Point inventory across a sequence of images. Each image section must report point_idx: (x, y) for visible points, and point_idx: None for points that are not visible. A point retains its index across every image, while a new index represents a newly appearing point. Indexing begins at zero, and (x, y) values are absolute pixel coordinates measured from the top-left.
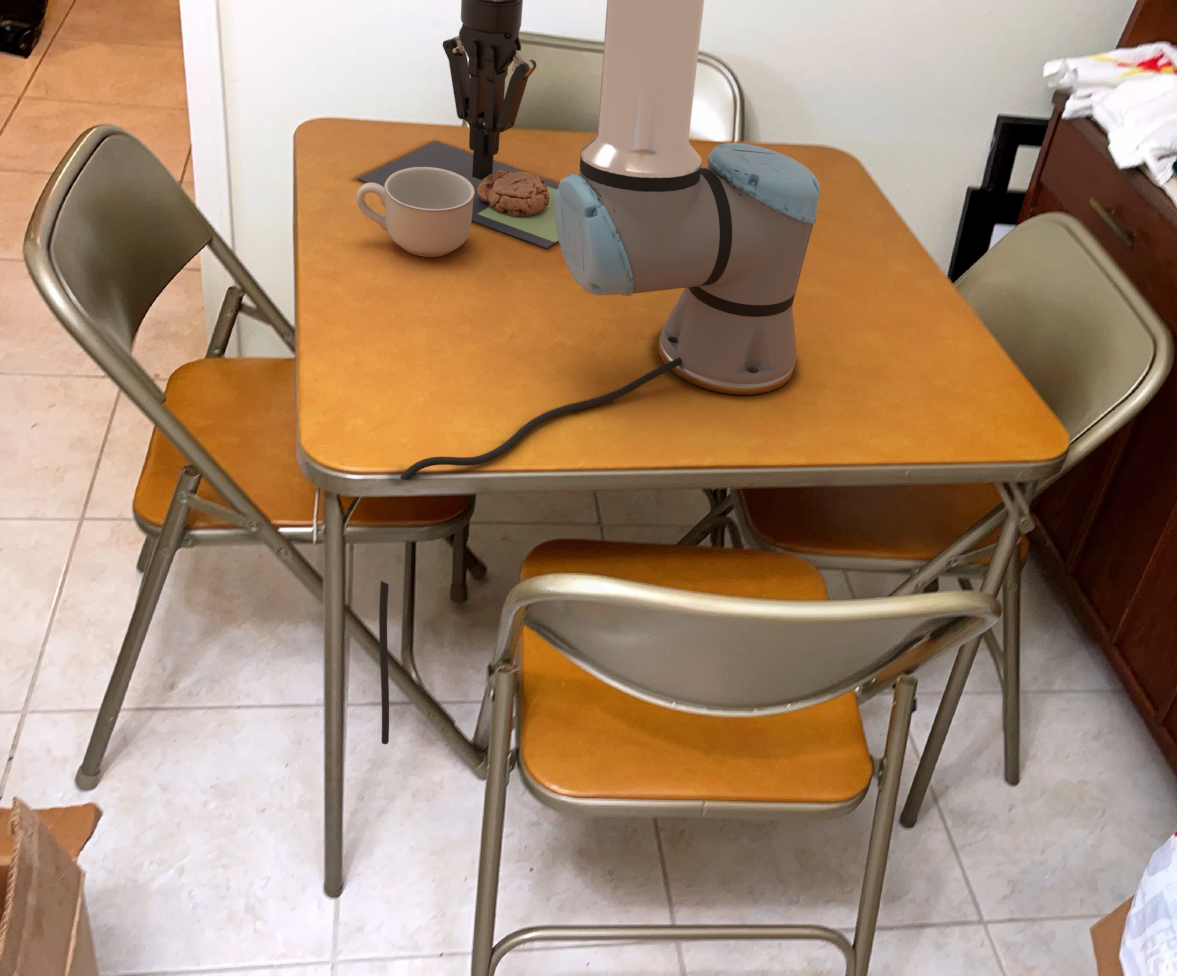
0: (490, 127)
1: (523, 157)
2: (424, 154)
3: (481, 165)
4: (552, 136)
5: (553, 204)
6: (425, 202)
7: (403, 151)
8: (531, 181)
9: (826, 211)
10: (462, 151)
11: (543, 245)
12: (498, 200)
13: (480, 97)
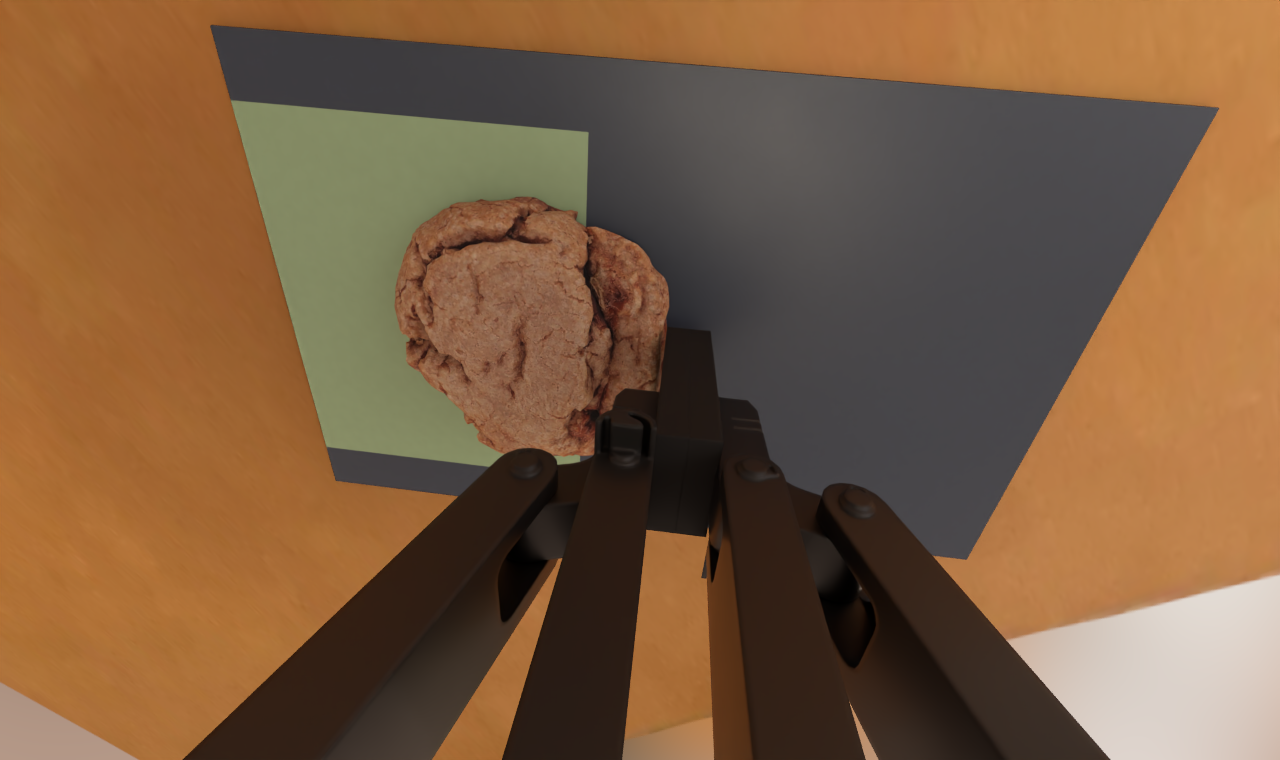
0: (607, 464)
1: (688, 591)
2: (975, 467)
3: (666, 350)
4: (685, 703)
5: None
6: None
7: (1058, 457)
8: (482, 390)
9: (67, 656)
10: None
11: (232, 36)
12: (527, 217)
13: (729, 661)
